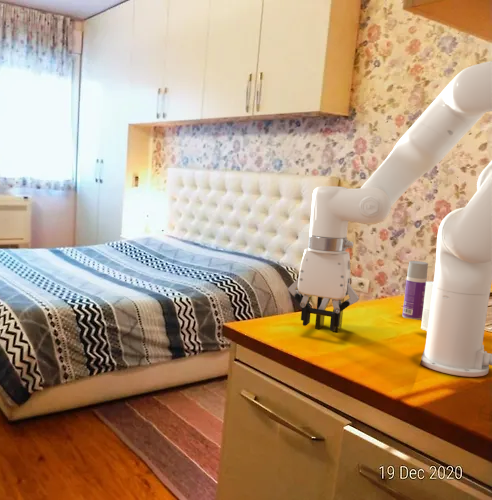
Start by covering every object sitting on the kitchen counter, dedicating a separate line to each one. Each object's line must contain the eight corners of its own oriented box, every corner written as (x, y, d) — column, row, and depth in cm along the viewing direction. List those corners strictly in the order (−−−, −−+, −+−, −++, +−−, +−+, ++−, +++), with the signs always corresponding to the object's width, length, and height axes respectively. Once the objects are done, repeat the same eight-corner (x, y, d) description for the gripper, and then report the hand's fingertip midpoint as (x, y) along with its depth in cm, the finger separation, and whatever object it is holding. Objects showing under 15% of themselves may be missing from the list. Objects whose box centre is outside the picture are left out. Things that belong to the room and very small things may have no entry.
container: (424, 320, 134) (431, 264, 132) (405, 319, 135) (411, 263, 133) (418, 315, 139) (425, 261, 136) (400, 314, 140) (406, 260, 137)
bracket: (340, 343, 114) (346, 287, 112) (304, 336, 118) (309, 282, 116) (349, 332, 122) (355, 279, 120) (315, 326, 126) (320, 275, 124)
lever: (331, 320, 110) (331, 311, 109) (308, 316, 112) (307, 307, 111) (344, 291, 118) (344, 282, 117) (322, 288, 121) (322, 279, 120)
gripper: (373, 247, 107) (364, 330, 110) (292, 238, 116) (285, 316, 119) (366, 251, 101) (357, 339, 104) (282, 242, 110) (275, 323, 113)
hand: (319, 325), depth 112 cm, fingers closed on lever, 5 cm apart
